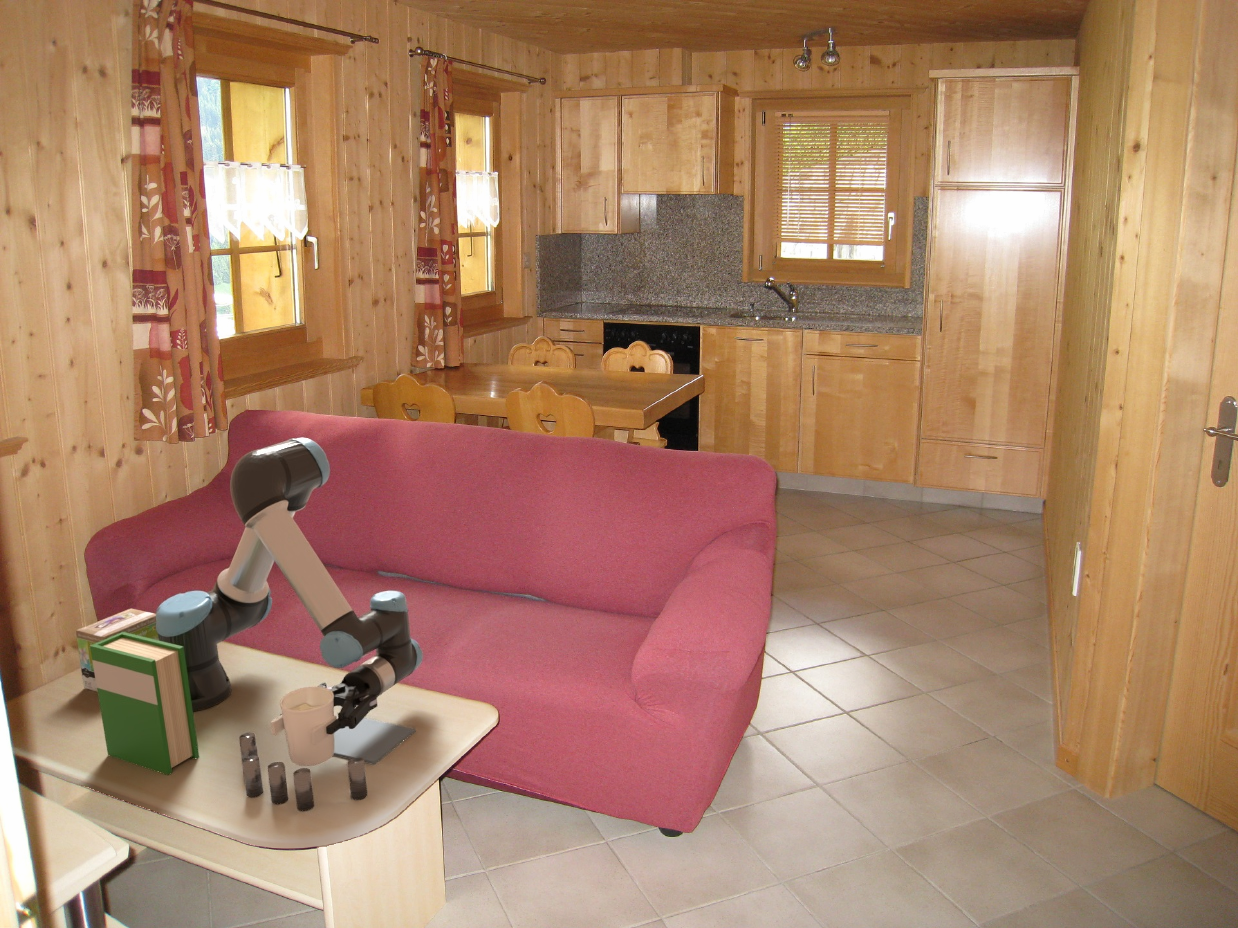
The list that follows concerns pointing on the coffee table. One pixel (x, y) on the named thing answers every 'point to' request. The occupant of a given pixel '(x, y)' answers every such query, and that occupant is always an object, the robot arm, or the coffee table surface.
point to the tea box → (106, 628)
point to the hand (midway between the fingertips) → (292, 733)
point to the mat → (370, 740)
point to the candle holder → (307, 724)
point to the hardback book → (145, 701)
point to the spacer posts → (300, 776)
